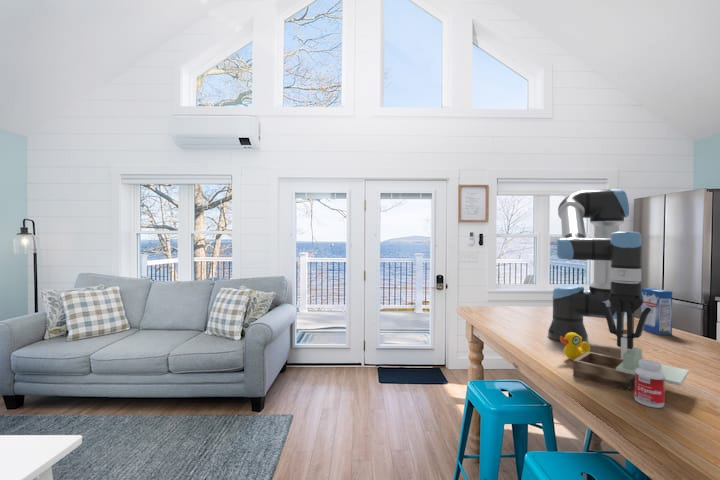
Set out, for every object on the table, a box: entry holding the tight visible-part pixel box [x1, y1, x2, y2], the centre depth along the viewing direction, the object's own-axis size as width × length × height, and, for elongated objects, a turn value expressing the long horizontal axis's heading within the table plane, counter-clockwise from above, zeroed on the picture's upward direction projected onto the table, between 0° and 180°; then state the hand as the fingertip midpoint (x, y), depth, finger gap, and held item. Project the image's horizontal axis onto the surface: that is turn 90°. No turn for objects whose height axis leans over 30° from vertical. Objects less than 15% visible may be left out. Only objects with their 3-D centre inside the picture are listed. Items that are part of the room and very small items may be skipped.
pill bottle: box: [634, 358, 666, 409], centre depth 94 cm, size 6×6×11 cm
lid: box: [616, 346, 689, 387], centre depth 103 cm, size 14×14×5 cm
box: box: [572, 351, 635, 391], centre depth 112 cm, size 14×14×5 cm
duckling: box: [559, 332, 591, 361], centre depth 127 cm, size 11×5×10 cm, turn 98°
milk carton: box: [641, 287, 673, 336], centre depth 166 cm, size 10×6×20 cm, turn 179°
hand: (624, 358), depth 108 cm, fingers closed
